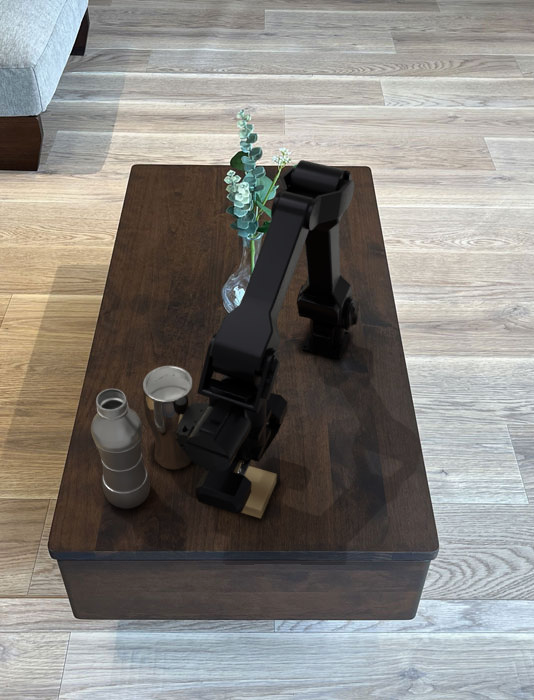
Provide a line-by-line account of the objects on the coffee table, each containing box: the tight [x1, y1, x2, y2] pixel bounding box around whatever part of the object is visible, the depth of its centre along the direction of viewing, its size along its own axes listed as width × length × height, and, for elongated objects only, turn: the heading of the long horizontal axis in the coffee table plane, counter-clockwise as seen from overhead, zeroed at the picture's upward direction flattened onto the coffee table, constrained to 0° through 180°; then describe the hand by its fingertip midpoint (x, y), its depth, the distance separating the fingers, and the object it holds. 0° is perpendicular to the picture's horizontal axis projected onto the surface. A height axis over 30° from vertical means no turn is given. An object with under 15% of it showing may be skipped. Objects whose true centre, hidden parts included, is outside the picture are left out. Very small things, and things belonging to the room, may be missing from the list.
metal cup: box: [142, 365, 196, 470], centre depth 111 cm, size 7×7×15 cm
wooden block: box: [238, 463, 278, 519], centre depth 111 cm, size 6×8×2 cm
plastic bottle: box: [90, 388, 152, 510], centre depth 104 cm, size 6×7×20 cm
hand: (244, 485), depth 110 cm, fingers open, 9 cm apart
